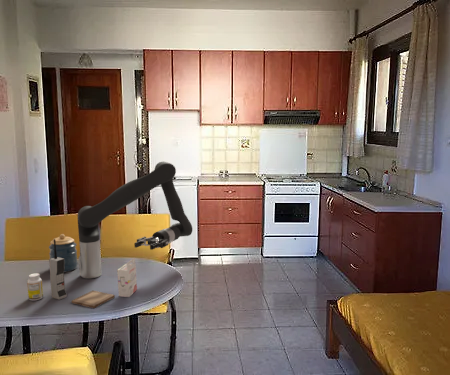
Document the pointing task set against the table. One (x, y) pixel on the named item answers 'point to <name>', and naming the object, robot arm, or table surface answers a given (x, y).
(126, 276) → the ink cartridge box
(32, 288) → the supplement bottle
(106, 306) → the table surface
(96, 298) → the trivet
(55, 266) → the vintage mobile phone
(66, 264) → the canister
